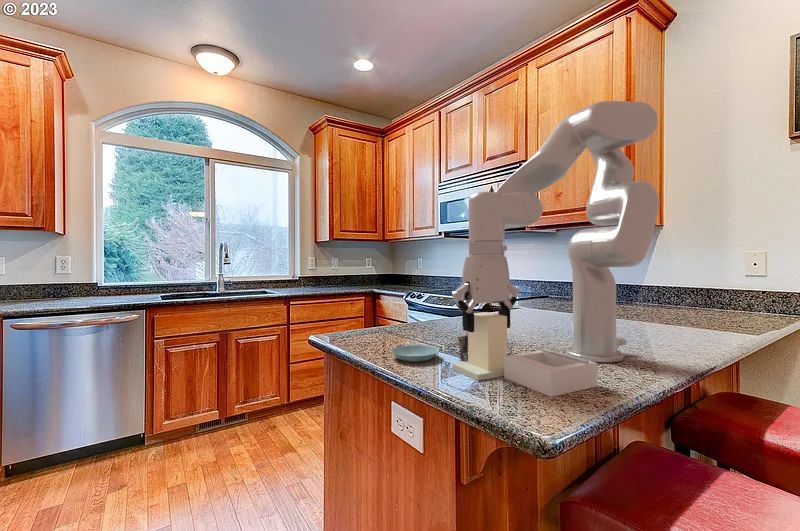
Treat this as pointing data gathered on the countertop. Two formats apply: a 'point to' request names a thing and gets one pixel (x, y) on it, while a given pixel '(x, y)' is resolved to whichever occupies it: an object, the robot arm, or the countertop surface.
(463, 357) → the foil
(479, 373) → the pad
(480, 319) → the cream rectangular block
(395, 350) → the saucer
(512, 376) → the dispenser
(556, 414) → the countertop surface
